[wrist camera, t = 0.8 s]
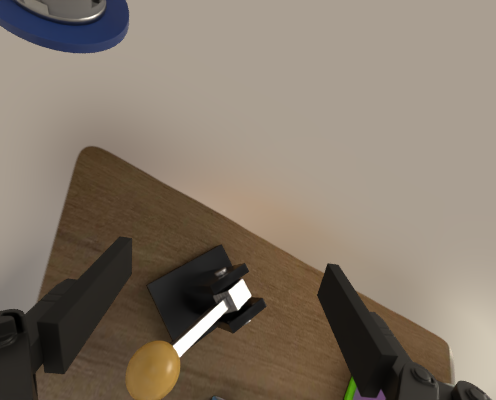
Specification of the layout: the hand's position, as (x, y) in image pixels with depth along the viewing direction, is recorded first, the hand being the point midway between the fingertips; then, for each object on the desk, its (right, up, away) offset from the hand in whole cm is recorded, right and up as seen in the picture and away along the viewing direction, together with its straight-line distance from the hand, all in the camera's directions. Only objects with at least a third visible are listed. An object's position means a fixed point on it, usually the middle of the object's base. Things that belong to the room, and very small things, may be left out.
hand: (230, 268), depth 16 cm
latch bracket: (-6, -9, +19) cm, 22 cm away
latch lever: (-4, -7, +6) cm, 10 cm away
